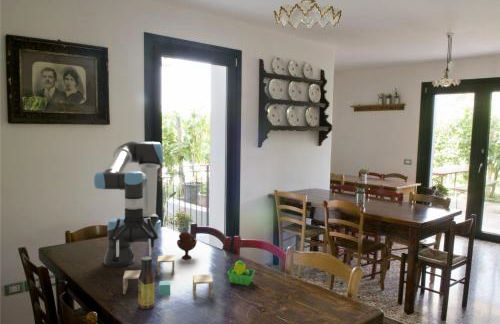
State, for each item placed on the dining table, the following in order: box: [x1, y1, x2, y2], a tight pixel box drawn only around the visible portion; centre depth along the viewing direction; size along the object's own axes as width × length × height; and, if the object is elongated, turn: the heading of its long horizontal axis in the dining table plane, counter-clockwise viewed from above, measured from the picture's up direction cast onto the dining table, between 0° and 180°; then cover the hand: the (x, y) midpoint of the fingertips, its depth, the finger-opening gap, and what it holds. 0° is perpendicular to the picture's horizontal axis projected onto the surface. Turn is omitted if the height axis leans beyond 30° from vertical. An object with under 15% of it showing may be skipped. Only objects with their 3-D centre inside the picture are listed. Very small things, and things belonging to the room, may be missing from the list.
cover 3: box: [192, 273, 214, 300], centre depth 163 cm, size 8×8×7 cm
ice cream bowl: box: [176, 231, 198, 261], centre depth 208 cm, size 11×11×15 cm
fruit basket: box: [227, 260, 255, 286], centre depth 177 cm, size 11×9×11 cm
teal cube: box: [158, 280, 171, 296], centre depth 164 cm, size 4×4×4 cm
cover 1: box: [122, 269, 141, 295], centre depth 166 cm, size 8×8×7 cm
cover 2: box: [156, 254, 175, 276], centre depth 187 cm, size 8×8×7 cm
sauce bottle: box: [137, 255, 156, 310], centre depth 150 cm, size 7×6×20 cm
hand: (134, 255), depth 166 cm, fingers open, 13 cm apart
